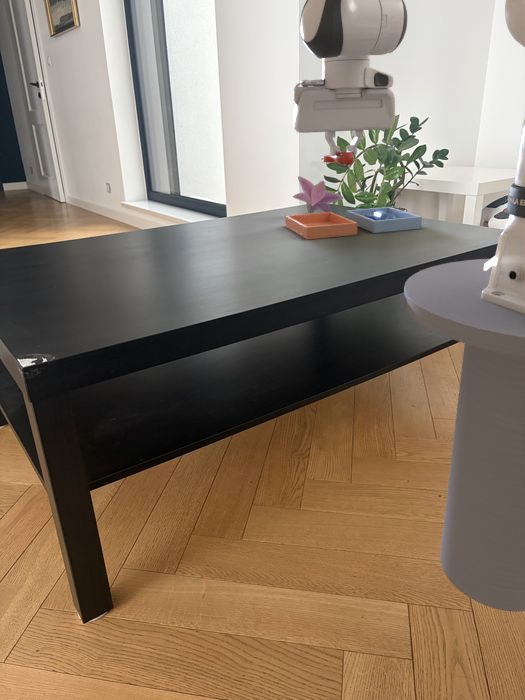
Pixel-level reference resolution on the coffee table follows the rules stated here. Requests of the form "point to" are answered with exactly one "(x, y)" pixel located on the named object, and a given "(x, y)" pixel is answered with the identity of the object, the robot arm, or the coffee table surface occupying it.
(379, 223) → the blue tray
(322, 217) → the orange tray
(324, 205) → the lily
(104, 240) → the coffee table surface
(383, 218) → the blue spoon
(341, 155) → the red spoon
